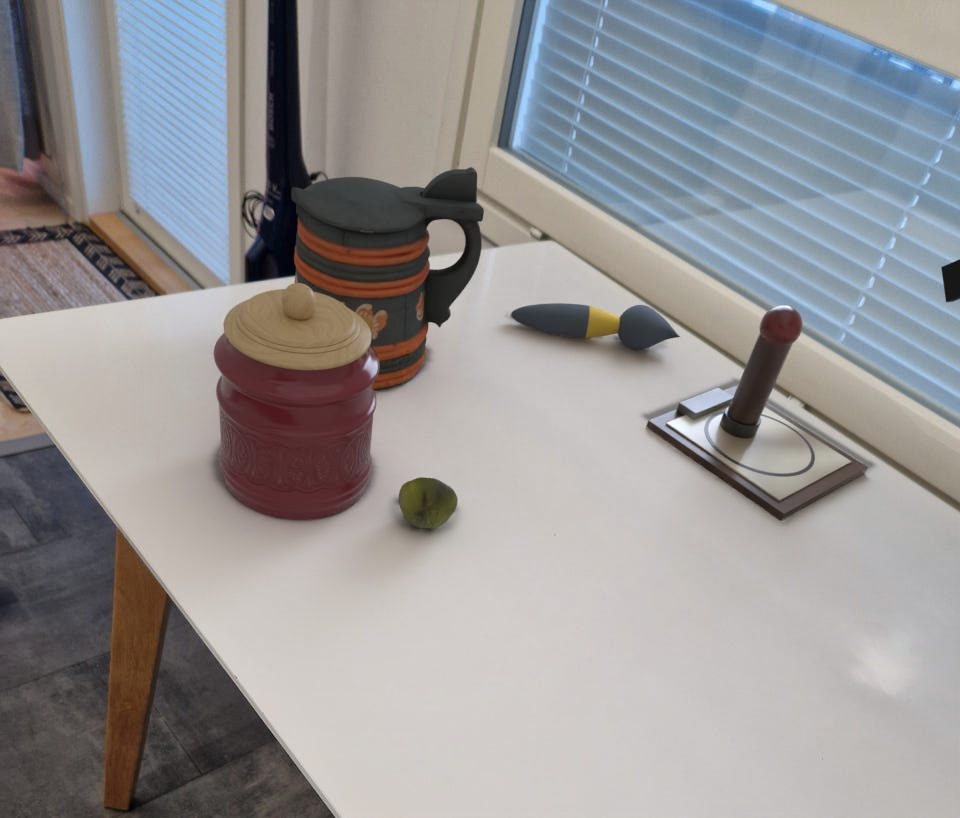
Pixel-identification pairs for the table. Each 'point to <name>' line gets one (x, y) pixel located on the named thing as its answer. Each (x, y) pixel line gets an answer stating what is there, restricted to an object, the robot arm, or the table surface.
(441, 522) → the lime
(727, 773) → the table surface
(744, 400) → the dot stamp
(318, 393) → the kitchen canister
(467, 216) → the beer stein
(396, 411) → the table surface
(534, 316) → the paintbrush
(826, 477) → the clipboard
